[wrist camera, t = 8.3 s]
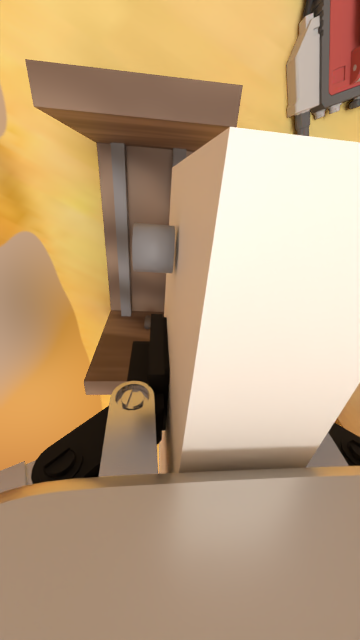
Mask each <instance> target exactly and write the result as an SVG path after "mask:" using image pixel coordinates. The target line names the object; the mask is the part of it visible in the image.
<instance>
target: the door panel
mask: <svg viewBox="0 0 360 640" xmlns="http://www.w3.org/2000/svg"><path fill="white" fill-rule="evenodd" d="M132 261H133V270H134V271H135V272H154V273H166V288H165V306H164V317H166V318H167V334H168V351H169V367H170V380H169V393H168V405H167V417H166V429H165V430H164V431H162V440H161V441H160V442H159V474H163V473H185V472H207V471H232V470H256V469H282V468H306V466H307V464H308V463H309V461H310V460H311V458H312V457H313V455H314V453H315V452H316V450H317V449H318V447H319V446H320V444H321V442H322V441H323V439H324V438H325V436H326V435H327V433H328V432H329V430H330V428H331V427H332V425H333V424H334V422H335V421H336V419H337V417H338V416H339V414H340V413H341V411H342V410H343V408H344V406H345V405H346V403H347V402H348V400H349V399H350V397H351V395H352V394H353V392H354V391H355V389H356V388H357V386H358V384H359V383H360V143H359V142H350V141H342V140H334V139H326V138H318V137H310V136H301V135H293V134H285V133H277V132H269V131H261V130H252V129H244V128H236V127H229V128H228V129H226V130H225V131H223V132H222V133H221V134H219V135H218V136H216V137H215V138H213V139H212V140H211V141H209V142H208V143H206V144H205V145H204V146H202V147H201V148H199V149H198V150H196V151H195V152H194V153H192V154H191V155H189V156H188V157H186V158H185V159H184V160H182V161H181V162H179V163H178V164H177V165H175V166H174V167H172V179H171V197H170V215H169V225H156V224H143V223H134V225H133V236H132Z"/></svg>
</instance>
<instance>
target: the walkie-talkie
mask: <svg viewBox="0 0 360 640" xmlns="http://www.w3.org/2000/svg"><path fill="white" fill-rule="evenodd" d="M286 67H287V88H288V107H287V117H290V116H293V115H295V130H297V135H301V136H309V125H310V112H311V113H314V114H313V115H315V119H318V118H321V117H323V116H325V110H326V108H327V109H329V114H331V113H334V112H337V111H339V110H340V105H341V104H342V103H343V102H346V101H349V100H351V99H353V101H352V102H351V103H350V104H349V109H353V108H356V107H359V106H360V0H306V6H305V9H304V13H303V20H302V21H301V22H300V23H299V36H298V38H297V40H296V43H295V45H294V48H293V50H292V52H291V55H290V57H289V60H288V62H287V65H286Z"/></svg>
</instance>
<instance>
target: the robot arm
mask: <svg viewBox="0 0 360 640" xmlns="http://www.w3.org/2000/svg"><path fill="white" fill-rule="evenodd" d="M169 380H170V367H169V351H168V334H167V318H166V317H163V314H151V325H150V341H133V344H132V351H131V357H130V364H129V370H128V377H127V382H125V383H122V384H120V385H119V386H117V387H116V388H115V389H114V391H113V392H112V394H111V397H110V404H109V406H108V407H106V408H105V409H103V410H102V411H101V412H99V413H98V414H96V415H95V416H93V417H92V418H90V419H89V420H87V421H86V422H85V423H83V424H82V425H80V426H79V427H77V428H76V429H74V430H73V431H72V432H70V433H69V434H67V435H66V436H64V437H63V438H61V439H60V440H58V441H57V442H56V443H54V444H53V445H51V446H50V447H48V448H47V449H46V450H45V451H44V452H43V453H41V455H40V456H39V457H38V459H37V460H36V461H33V462H31V463H29V464H26V463H25V461H24V462H21V463H19V464H17V465H14V466H12V467H9V468H7V469H4V470H2V471H0V640H360V383H359V384H358V386H357V388H356V389H355V391H354V392H353V394H352V395H351V397H350V399H349V400H348V402H347V403H346V405H345V406H344V408H343V410H342V411H341V413H340V414H339V416H338V417H337V419H338V420H339V422H340V423H341V424H342V426H343V427H344V428H343V427H341V426H339V425H337V424H336V423H334V424H333V425H332V427H331V428H330V430H329V432H328V433H327V435H326V436H325V438H324V439H323V441H322V442H321V444H320V446H319V447H318V449H317V450H316V452H315V453H314V455H313V457H312V458H311V460H310V461H309V463H308V464H307V466H306V468H282V469H256V470H232V471H207V472H185V473H163V474H158V463H157V444H158V443H159V442H160V441H161V440H162V431H164V430H165V429H166V417H167V405H168V393H169Z"/></svg>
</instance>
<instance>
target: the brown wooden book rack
mask: <svg viewBox="0 0 360 640" xmlns="http://www.w3.org/2000/svg"><path fill="white" fill-rule="evenodd" d="M25 60H26V66H27V71H28V77H29V82H30V88H31V94H32V99H33V105H34V107H36V108H38V109H39V110H41V111H43V112H45V113H46V114H48V115H50V116H51V117H53V118H55V119H57V120H58V121H60V122H62V123H63V124H65V125H67V126H69V127H70V128H72V129H74V130H76V131H77V132H79V133H81V134H82V135H84V136H86V137H88V138H89V139H91V140H93V141H94V142H96V143H97V151H98V163H99V175H100V186H101V198H102V210H103V221H104V233H105V245H106V256H107V268H108V280H109V291H110V303H111V312H110V315H109V317H108V320H107V322H106V325H105V328H104V330H103V333H102V335H101V338H100V341H99V343H98V346H97V348H96V351H95V354H94V356H93V359H92V361H91V364H90V367H89V369H88V372H87V374H86V377H85V379H84V386H85V391H86V394H87V395H111V394H112V392H113V391H114V389H115V388H116V387H117V386H119V385H120V384H122V383H125V382H127V377H128V370H129V364H130V357H131V351H132V344H133V341H150V325H151V314H163V317H164V306H165V288H166V273H154V272H135V271H134V270H133V261H132V236H133V225H134V223H143V224H156V225H169V215H170V197H171V179H172V167H174V166H175V165H177V164H178V163H179V162H181V161H182V160H184V159H185V158H186V157H188V156H189V155H191V154H192V153H194V152H195V151H196V150H198V149H199V148H201V147H202V146H204V145H205V144H206V143H208V142H209V141H211V140H212V139H213V138H215V137H216V136H218V135H219V134H221V133H222V132H223V131H225V130H226V129H228V128H229V127H237V120H238V113H239V106H240V100H241V93H242V86H243V85H235V84H227V83H218V82H210V81H202V80H193V79H185V78H177V77H168V76H160V75H152V74H143V73H135V72H127V71H118V70H110V69H102V68H93V67H85V66H77V65H68V64H60V63H52V62H44V61H35V60H27V59H25Z"/></svg>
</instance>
